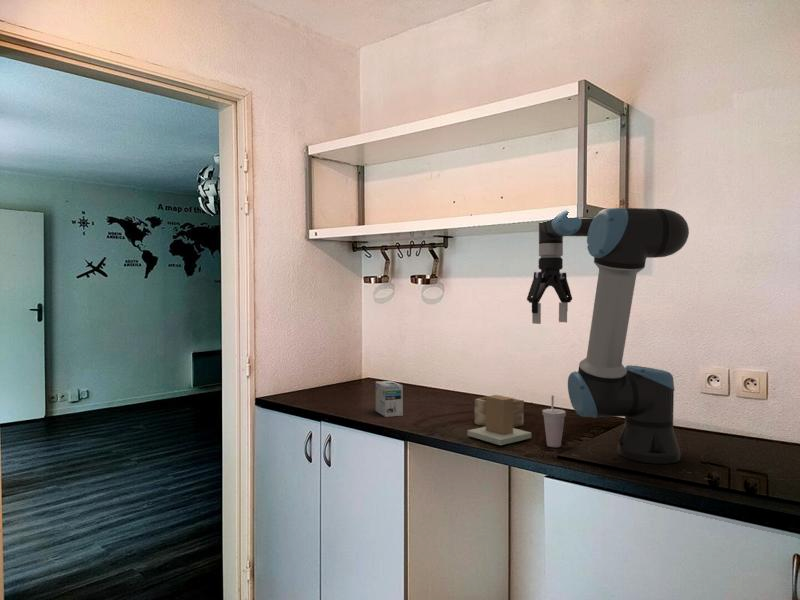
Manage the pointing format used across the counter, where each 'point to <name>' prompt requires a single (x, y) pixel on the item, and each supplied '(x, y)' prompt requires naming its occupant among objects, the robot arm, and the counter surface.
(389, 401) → the light bulb box
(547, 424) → the smoothie
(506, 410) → the lid
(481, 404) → the box
